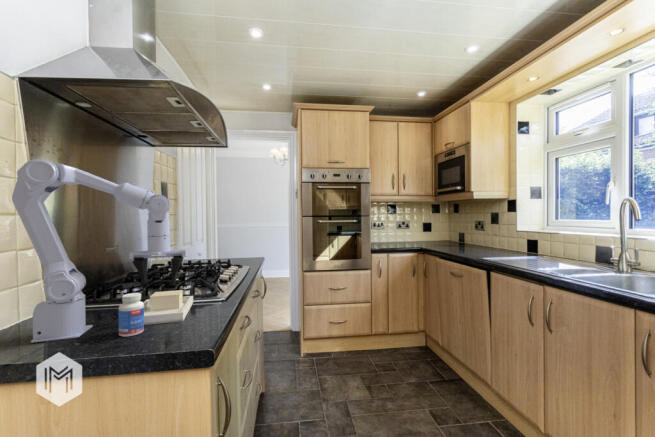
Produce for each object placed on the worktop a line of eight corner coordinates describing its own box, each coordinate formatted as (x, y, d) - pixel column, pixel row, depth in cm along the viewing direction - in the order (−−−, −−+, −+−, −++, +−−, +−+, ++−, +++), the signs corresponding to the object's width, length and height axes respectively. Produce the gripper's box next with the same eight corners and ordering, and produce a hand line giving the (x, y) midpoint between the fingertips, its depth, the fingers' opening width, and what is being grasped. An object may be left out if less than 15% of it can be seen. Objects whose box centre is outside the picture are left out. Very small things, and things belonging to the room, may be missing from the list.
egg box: (150, 311, 89) (149, 296, 89) (155, 305, 95) (155, 292, 95) (179, 308, 92) (179, 294, 92) (183, 303, 97) (182, 290, 97)
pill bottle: (132, 337, 71) (131, 298, 71) (113, 336, 72) (112, 297, 72) (149, 329, 77) (148, 292, 76) (131, 328, 77) (131, 291, 77)
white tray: (126, 327, 78) (125, 317, 78) (146, 307, 95) (146, 299, 95) (183, 321, 82) (183, 312, 82) (193, 303, 99) (193, 295, 99)
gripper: (124, 237, 79) (125, 287, 79) (183, 236, 83) (184, 283, 83) (134, 236, 86) (134, 282, 86) (187, 234, 90) (188, 278, 90)
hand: (159, 282), depth 85 cm, fingers open, 7 cm apart
